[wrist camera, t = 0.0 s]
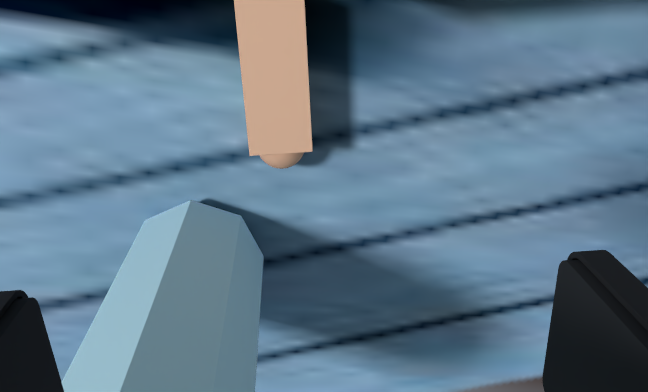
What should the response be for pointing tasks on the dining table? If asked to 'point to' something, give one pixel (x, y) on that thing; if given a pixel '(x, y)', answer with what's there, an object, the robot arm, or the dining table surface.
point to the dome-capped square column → (275, 79)
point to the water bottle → (178, 310)
